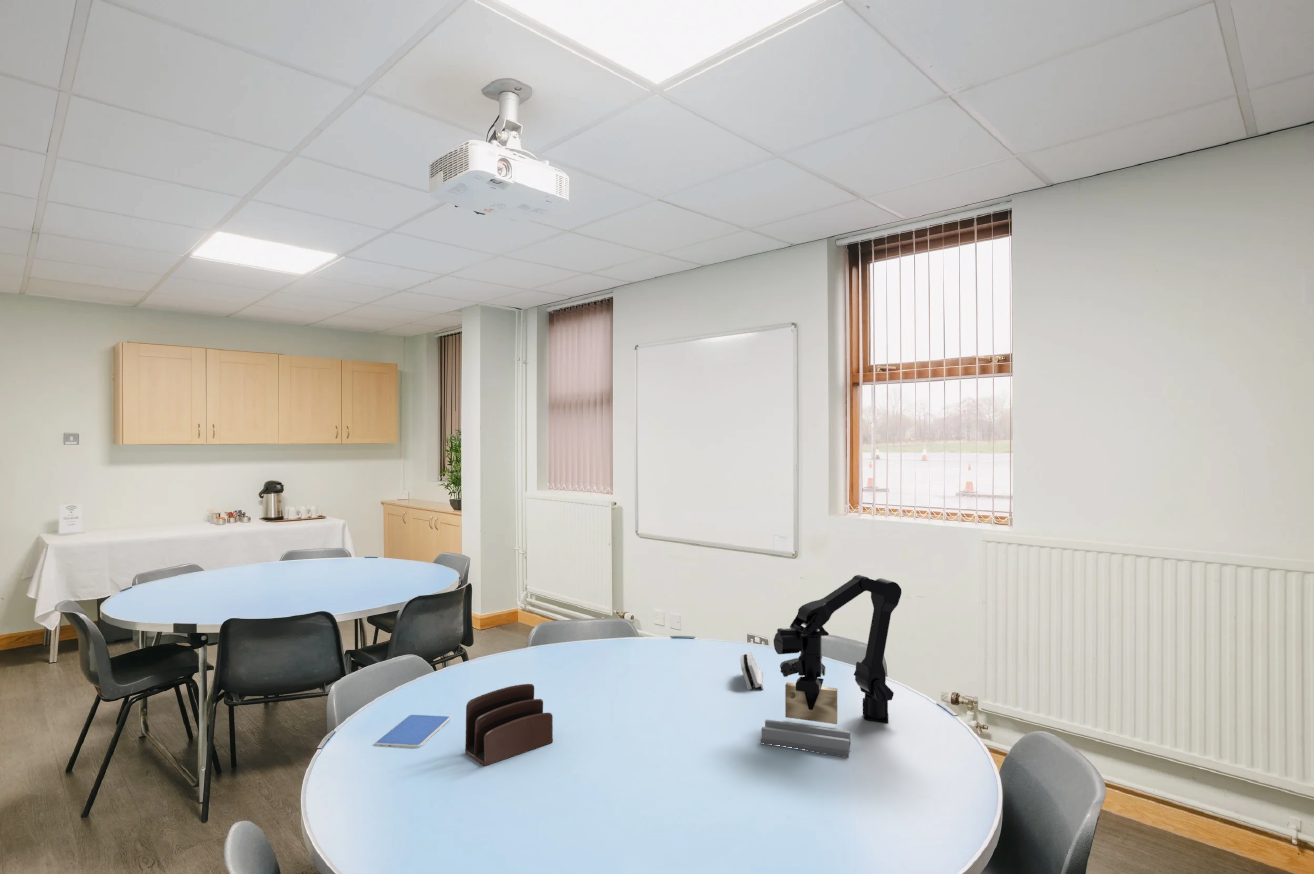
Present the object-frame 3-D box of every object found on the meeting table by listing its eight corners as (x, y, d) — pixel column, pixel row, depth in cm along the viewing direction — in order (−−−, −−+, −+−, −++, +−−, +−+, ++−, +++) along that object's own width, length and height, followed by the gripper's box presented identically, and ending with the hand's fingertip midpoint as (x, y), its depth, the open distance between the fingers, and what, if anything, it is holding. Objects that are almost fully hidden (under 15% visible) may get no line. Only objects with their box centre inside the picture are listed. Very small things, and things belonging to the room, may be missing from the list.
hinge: (763, 690, 210) (753, 660, 210) (749, 694, 210) (739, 664, 211) (763, 673, 226) (753, 645, 227) (750, 677, 227) (740, 649, 228)
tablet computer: (419, 750, 165) (419, 745, 165) (372, 747, 167) (372, 742, 167) (451, 720, 185) (452, 715, 185) (409, 718, 186) (409, 713, 186)
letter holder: (464, 754, 163) (465, 696, 163) (532, 731, 176) (532, 679, 177) (484, 767, 156) (485, 707, 156) (553, 743, 169) (554, 688, 170)
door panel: (837, 721, 181) (837, 688, 181) (836, 725, 178) (836, 692, 178) (786, 714, 186) (786, 682, 186) (785, 718, 183) (784, 685, 183)
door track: (850, 742, 170) (850, 729, 171) (848, 757, 162) (848, 743, 162) (766, 730, 178) (766, 717, 178) (760, 743, 169) (760, 730, 170)
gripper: (787, 640, 195) (787, 693, 194) (776, 657, 177) (776, 716, 176) (825, 643, 191) (825, 698, 190) (818, 662, 173) (819, 721, 173)
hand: (811, 707), depth 182 cm, fingers closed on door panel, 2 cm apart
